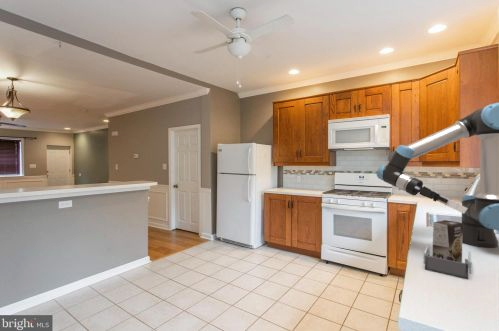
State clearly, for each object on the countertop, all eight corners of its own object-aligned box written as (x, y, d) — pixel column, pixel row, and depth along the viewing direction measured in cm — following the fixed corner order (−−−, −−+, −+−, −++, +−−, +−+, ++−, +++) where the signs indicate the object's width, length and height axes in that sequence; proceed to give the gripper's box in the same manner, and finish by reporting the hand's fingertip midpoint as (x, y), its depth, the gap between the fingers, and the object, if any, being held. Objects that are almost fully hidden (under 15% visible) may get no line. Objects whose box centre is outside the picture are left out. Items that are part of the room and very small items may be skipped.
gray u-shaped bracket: (427, 253, 110) (427, 241, 110) (470, 261, 101) (470, 249, 101) (421, 268, 95) (422, 255, 95) (471, 280, 86) (472, 265, 86)
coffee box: (450, 268, 95) (451, 225, 94) (431, 262, 101) (432, 221, 100) (462, 264, 99) (463, 222, 99) (444, 258, 105) (444, 219, 104)
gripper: (415, 196, 127) (464, 220, 111) (394, 186, 112) (447, 212, 96) (423, 182, 126) (474, 205, 109) (403, 171, 111) (459, 195, 94)
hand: (461, 208), depth 102 cm, fingers open, 13 cm apart
